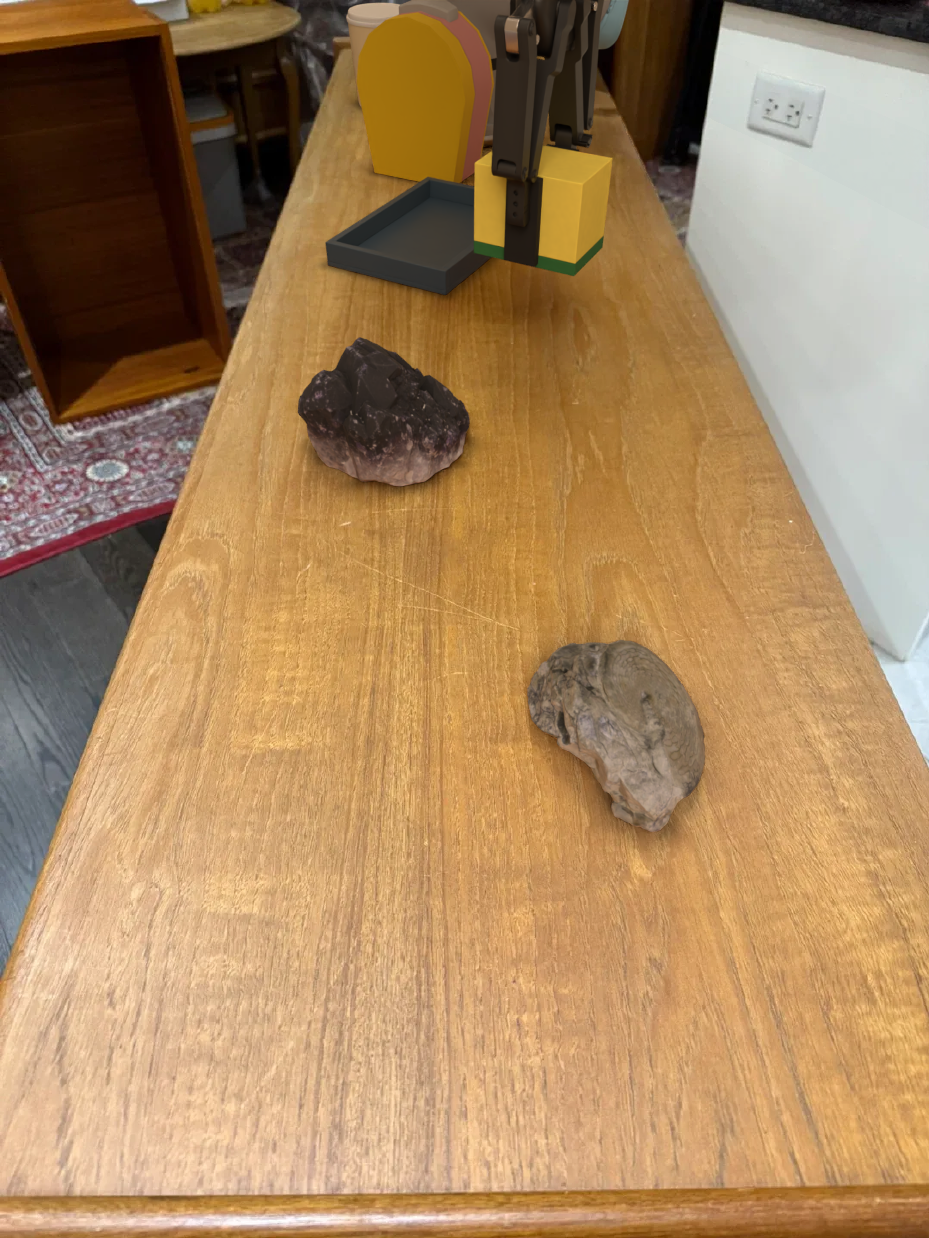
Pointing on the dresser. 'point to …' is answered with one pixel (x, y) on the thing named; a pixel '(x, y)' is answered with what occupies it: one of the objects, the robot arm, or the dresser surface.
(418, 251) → the tray
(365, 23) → the coffee cup
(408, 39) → the yellow arched slab
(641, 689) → the fossilized seashell
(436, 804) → the dresser surface
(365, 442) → the crystal cluster
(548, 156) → the sponge
